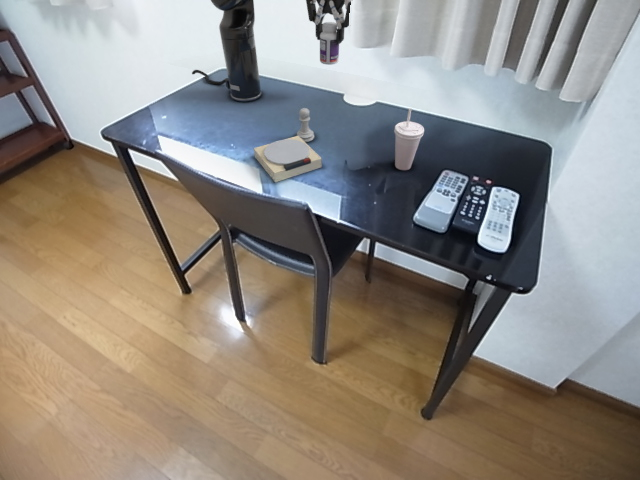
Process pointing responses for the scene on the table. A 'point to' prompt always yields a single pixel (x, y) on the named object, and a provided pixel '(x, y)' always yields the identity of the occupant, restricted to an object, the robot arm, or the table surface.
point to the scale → (287, 158)
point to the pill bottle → (329, 44)
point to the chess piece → (305, 126)
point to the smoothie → (407, 142)
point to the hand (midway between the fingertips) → (329, 40)
